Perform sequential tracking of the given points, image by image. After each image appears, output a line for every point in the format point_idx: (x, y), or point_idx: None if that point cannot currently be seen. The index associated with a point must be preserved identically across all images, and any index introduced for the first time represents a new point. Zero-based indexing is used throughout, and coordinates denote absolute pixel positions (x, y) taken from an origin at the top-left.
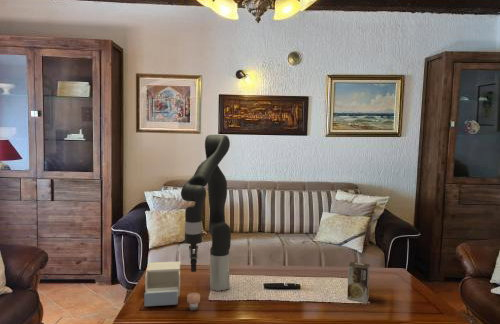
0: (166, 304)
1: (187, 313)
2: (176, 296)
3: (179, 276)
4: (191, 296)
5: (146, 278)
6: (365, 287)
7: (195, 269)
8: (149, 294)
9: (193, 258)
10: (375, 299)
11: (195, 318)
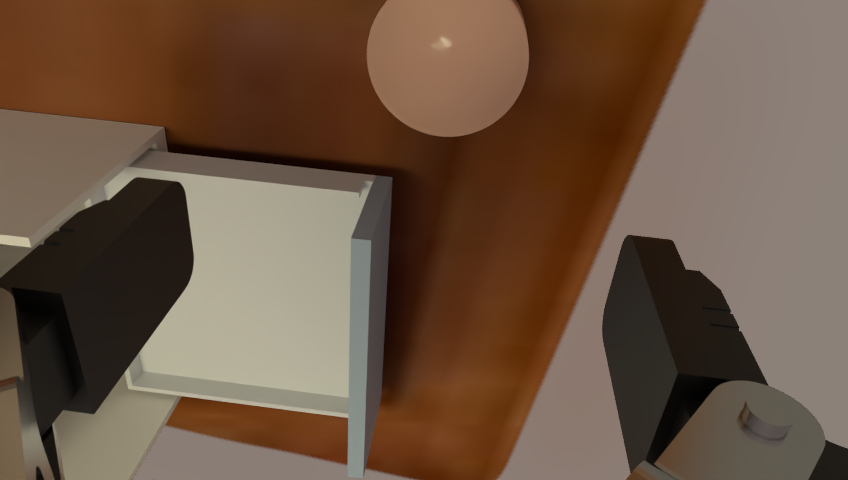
0: (386, 264)
1: (542, 92)
2: (378, 223)
3: (46, 223)
4: (467, 89)
5: (101, 477)
6: None
7: (676, 278)
8: (365, 440)
9: (107, 320)
10: None
11: (672, 28)
